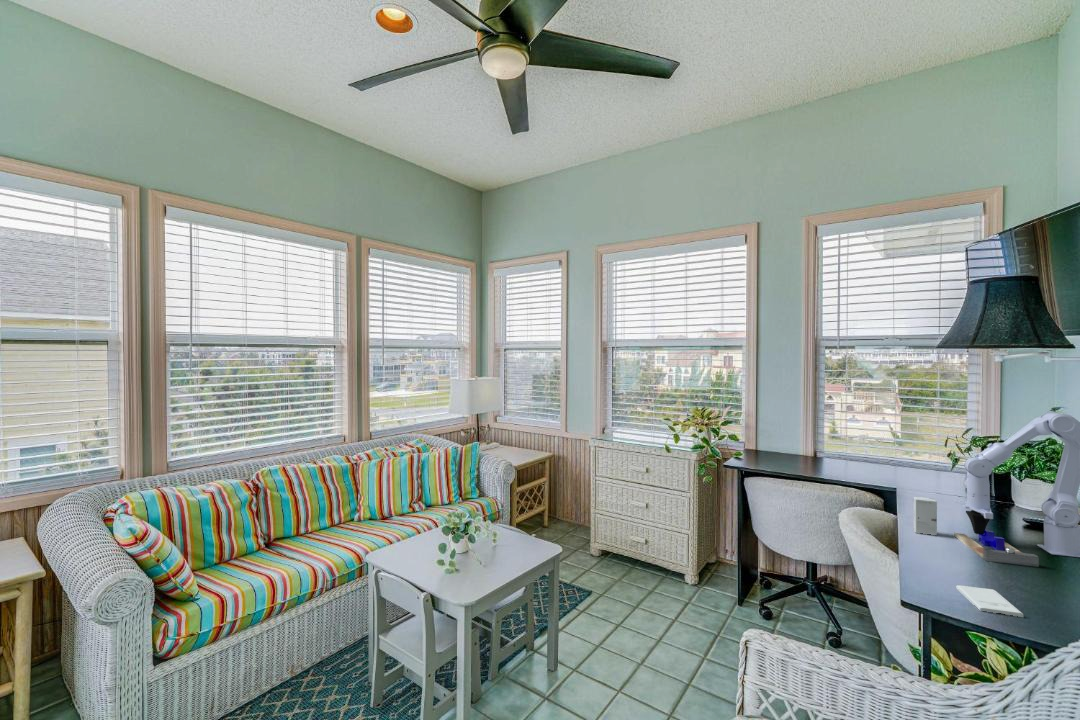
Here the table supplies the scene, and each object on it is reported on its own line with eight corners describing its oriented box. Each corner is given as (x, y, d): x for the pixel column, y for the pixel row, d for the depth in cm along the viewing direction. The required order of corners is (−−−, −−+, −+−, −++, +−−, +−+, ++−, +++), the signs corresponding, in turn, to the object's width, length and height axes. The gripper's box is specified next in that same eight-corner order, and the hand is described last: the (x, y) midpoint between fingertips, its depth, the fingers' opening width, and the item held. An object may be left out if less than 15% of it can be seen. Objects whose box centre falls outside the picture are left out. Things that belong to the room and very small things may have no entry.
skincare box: (915, 533, 167) (915, 499, 167) (913, 529, 171) (912, 496, 171) (937, 536, 164) (937, 501, 164) (934, 532, 168) (934, 498, 168)
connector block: (1034, 564, 140) (1034, 550, 141) (1038, 567, 139) (1038, 552, 139) (983, 558, 145) (983, 544, 145) (986, 561, 143) (986, 547, 143)
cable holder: (978, 541, 159) (978, 529, 159) (992, 542, 157) (991, 530, 158) (990, 550, 151) (990, 537, 152) (1004, 551, 150) (1004, 539, 150)
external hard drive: (995, 595, 123) (1023, 619, 112) (956, 590, 126) (980, 613, 115) (995, 589, 123) (1023, 612, 112) (956, 584, 126) (979, 606, 115)
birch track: (998, 540, 160) (997, 536, 160) (1034, 564, 140) (1034, 560, 140) (953, 535, 164) (953, 532, 164) (983, 558, 145) (983, 554, 145)
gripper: (954, 487, 168) (954, 525, 168) (973, 498, 155) (974, 539, 155) (979, 489, 165) (980, 528, 165) (1001, 500, 152) (1001, 542, 152)
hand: (979, 533), depth 160 cm, fingers closed
